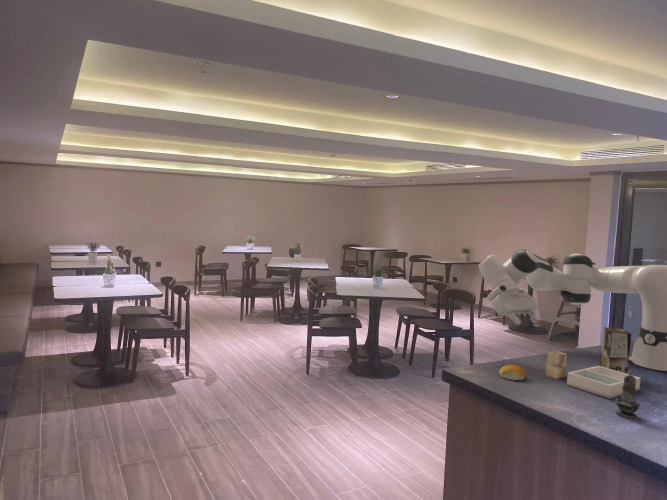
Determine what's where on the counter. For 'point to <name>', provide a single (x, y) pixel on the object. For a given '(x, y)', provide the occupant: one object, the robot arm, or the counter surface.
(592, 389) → the caddy
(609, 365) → the coffee box
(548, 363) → the maple block
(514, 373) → the bread roll
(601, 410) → the counter surface
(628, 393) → the dark grey upright piece
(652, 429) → the counter surface
